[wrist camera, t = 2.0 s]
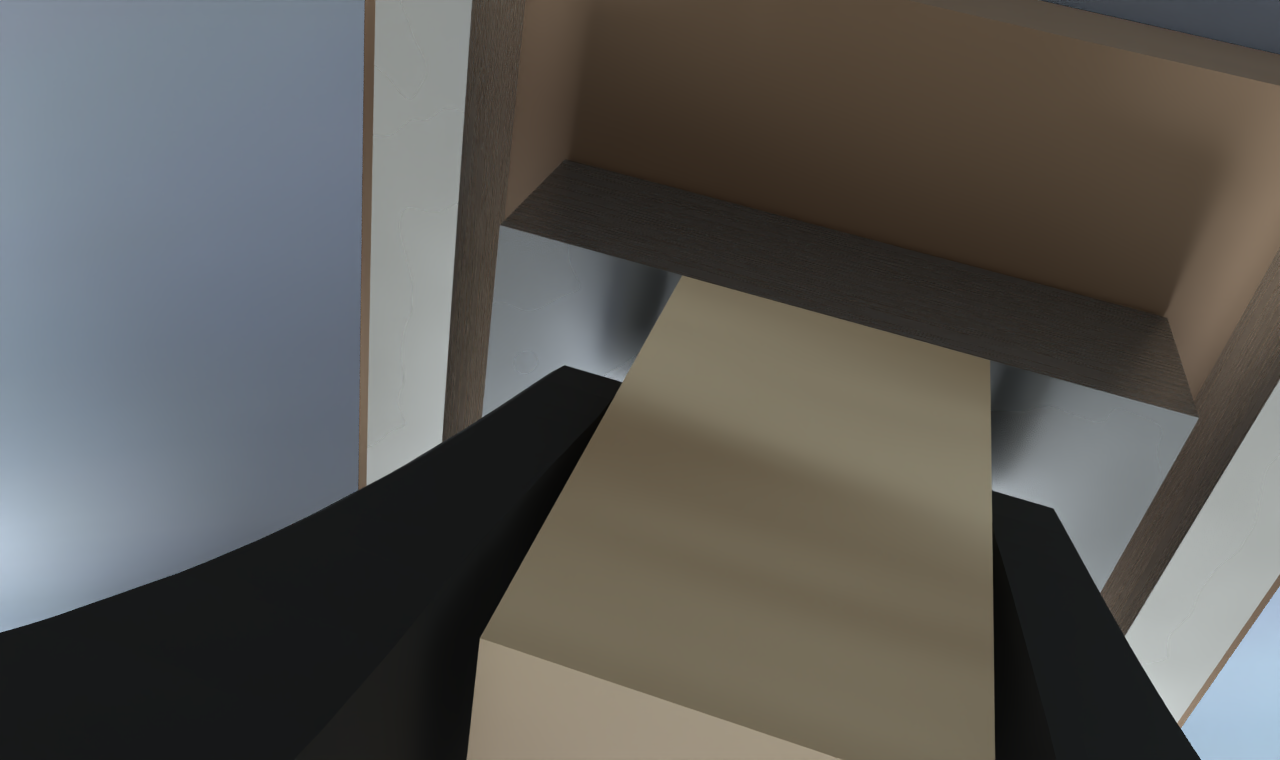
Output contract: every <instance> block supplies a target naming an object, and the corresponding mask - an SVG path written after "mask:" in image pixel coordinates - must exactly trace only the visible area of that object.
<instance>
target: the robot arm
mask: <svg viewBox="0 0 1280 760" xmlns="http://www.w3.org/2000/svg"><path fill="white" fill-rule="evenodd" d="M621 384H622V382H620V381H617V380H614V379H610V378H607V377H603V376H600V375H597V374H593V373H590V372H586V371H583V370H579V369H576V368H573V367H569V366H566V365H564V366H562V367H560V368H558V369H556V370H554V371H552V372H551V373H549V374H548V375H546V376H545V377H543V378H542V379H540V380H538V381H537V382H535V383H534V384H532V385H531V386H529V387H528V388H526V389H525V390H523V391H522V392H520V393H519V394H517V395H516V396H514V397H513V398H511V399H510V400H508V401H507V402H505V403H504V404H502V405H501V406H499V407H498V408H496V409H495V410H493V411H491V412H490V413H488V414H487V415H485V416H484V417H482V418H481V419H479V420H477V421H476V422H474V423H473V424H471V425H470V426H468V427H467V428H465V429H463V430H462V431H460V432H458V433H457V434H455V435H453V436H452V437H450V438H448V439H447V440H445V441H443V442H442V443H440V444H439V445H437V446H435V447H434V448H432V449H430V450H429V451H427V452H425V453H424V454H422V455H420V456H419V457H417V458H415V459H414V460H412V461H410V462H409V463H407V464H405V465H404V466H402V467H400V468H398V469H397V470H395V471H393V472H391V473H390V474H388V475H386V476H384V477H382V478H380V479H378V480H376V481H375V482H373V483H371V484H369V485H367V486H365V487H363V488H361V489H360V490H358V491H356V492H354V493H352V494H350V495H348V496H346V497H345V498H343V499H341V500H339V501H337V502H335V503H333V504H331V505H330V506H328V507H326V508H324V509H322V510H320V511H318V512H316V513H314V514H312V515H310V516H308V517H306V518H304V519H302V520H300V521H298V522H296V523H294V524H292V525H290V526H288V527H285V528H283V529H281V530H279V531H277V532H275V533H273V534H271V535H268V536H266V537H264V538H262V539H260V540H257V541H255V542H253V543H251V544H248V545H246V546H243V547H241V548H239V549H236V550H234V551H232V552H229V553H227V554H225V555H222V556H220V557H217V558H215V559H213V560H210V561H208V562H206V563H203V564H201V565H198V566H195V567H193V568H190V569H188V570H185V571H183V572H180V573H178V574H175V575H172V576H169V577H166V578H163V579H160V580H158V581H155V582H152V583H149V584H146V585H143V586H140V587H137V588H135V589H132V590H129V591H126V592H123V593H120V594H117V595H115V596H112V597H109V598H106V599H103V600H100V601H97V602H95V603H92V604H89V605H86V606H83V607H80V608H77V609H75V610H72V611H69V612H66V613H63V614H60V615H57V616H55V617H51V618H48V619H45V620H42V621H39V622H35V623H32V624H29V625H25V626H22V627H19V628H15V629H12V630H8V631H5V632H2V633H0V760H467V753H468V744H469V735H470V725H471V716H472V707H473V698H474V688H475V679H476V670H477V660H478V651H479V642H480V637H481V635H482V633H483V632H484V630H485V628H486V626H487V624H488V623H489V621H490V619H491V617H492V615H493V614H494V612H495V610H496V608H497V607H498V605H499V603H500V601H501V599H502V598H503V596H504V594H505V592H506V590H507V589H508V587H509V585H510V583H511V581H512V580H513V578H514V576H515V574H516V572H517V571H518V569H519V567H520V565H521V563H522V562H523V560H524V558H525V556H526V555H527V553H528V551H529V549H530V547H531V546H532V544H533V542H534V540H535V538H536V537H537V535H538V533H539V531H540V529H541V528H542V526H543V524H544V522H545V520H546V519H547V517H548V515H549V513H550V511H551V510H552V508H553V506H554V504H555V503H556V501H557V499H558V497H559V495H560V494H561V492H562V490H563V488H564V486H565V485H566V483H567V481H568V479H569V477H570V476H571V474H572V472H573V470H574V468H575V467H576V465H577V463H578V461H579V459H580V458H581V456H582V454H583V452H584V451H585V449H586V447H587V445H588V443H589V442H590V440H591V438H592V436H593V434H594V433H595V431H596V429H597V427H598V425H599V424H600V422H601V420H602V418H603V416H604V415H605V413H606V411H607V409H608V407H609V406H610V404H611V402H612V400H613V398H614V397H615V395H616V393H617V391H618V390H619V388H620V386H621ZM992 550H993V629H994V709H995V760H1201V759H1200V758H1199V756H1198V755H1197V753H1196V752H1195V750H1194V749H1193V747H1192V746H1191V744H1190V742H1189V741H1188V739H1187V738H1186V736H1185V735H1184V733H1183V731H1182V730H1181V728H1180V727H1179V725H1178V724H1177V722H1176V721H1175V719H1174V717H1173V716H1172V714H1171V713H1170V711H1169V710H1168V708H1167V706H1166V705H1165V703H1164V701H1163V700H1162V698H1161V697H1160V695H1159V693H1158V692H1157V690H1156V688H1155V687H1154V685H1153V684H1152V682H1151V680H1150V678H1149V677H1148V675H1147V673H1146V672H1145V670H1144V668H1143V667H1142V665H1141V663H1140V662H1139V660H1138V658H1137V657H1136V655H1135V653H1134V652H1133V650H1132V648H1131V647H1130V645H1129V643H1128V641H1127V640H1126V638H1125V636H1124V634H1123V633H1122V631H1121V629H1120V628H1119V626H1118V624H1117V622H1116V620H1115V619H1114V617H1113V615H1112V613H1111V612H1110V610H1109V608H1108V606H1107V604H1106V603H1105V601H1104V599H1103V597H1102V595H1101V594H1100V592H1099V590H1098V588H1097V586H1096V585H1095V583H1094V581H1093V579H1092V577H1091V575H1090V574H1089V572H1088V570H1087V568H1086V566H1085V564H1084V563H1083V561H1082V559H1081V557H1080V555H1079V553H1078V552H1077V550H1076V548H1075V546H1074V544H1073V543H1072V541H1071V539H1070V537H1069V535H1068V533H1067V532H1066V530H1065V528H1064V526H1063V524H1062V522H1061V521H1060V519H1059V517H1058V515H1057V514H1056V512H1055V510H1054V509H1053V508H1051V507H1047V506H1044V505H1040V504H1037V503H1033V502H1030V501H1027V500H1023V499H1020V498H1016V497H1013V496H1010V495H1006V494H1003V493H999V492H996V491H993V490H992Z"/></svg>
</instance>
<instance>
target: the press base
mask: <svg viewBox="0 0 1280 760" xmlns="http://www.w3.org/2000/svg"><path fill="white" fill-rule="evenodd" d="M565 159H567V160H571V161H575V162H579V163H583V164H586V165H590V166H594V167H598V168H602V169H605V170H609V171H613V172H617V173H621V174H624V175H628V176H632V177H636V178H639V179H643V180H647V181H651V182H655V183H658V184H662V185H666V186H670V187H674V188H677V189H681V190H685V191H689V192H693V193H696V194H700V195H704V196H708V197H712V198H715V199H719V200H723V201H727V202H730V203H734V204H738V205H742V206H746V207H749V208H753V209H757V210H761V211H765V212H768V213H772V214H776V215H780V216H784V217H787V218H791V219H795V220H799V221H803V222H806V223H810V224H814V225H818V226H821V227H825V228H829V229H833V230H837V231H840V232H844V233H848V234H852V235H856V236H859V237H863V238H867V239H871V240H875V241H878V242H882V243H886V244H890V245H894V246H897V247H901V248H905V249H909V250H912V251H916V252H920V253H924V254H928V255H931V256H935V257H939V258H943V259H947V260H950V261H954V262H958V263H962V264H966V265H969V266H973V267H977V268H981V269H985V270H988V271H992V272H996V273H1000V274H1003V275H1007V276H1011V277H1015V278H1019V279H1022V280H1026V281H1030V282H1034V283H1038V284H1041V285H1045V286H1049V287H1053V288H1057V289H1060V290H1064V291H1068V292H1072V293H1075V294H1079V295H1083V296H1087V297H1091V298H1094V299H1098V300H1102V301H1106V302H1110V303H1113V304H1117V305H1121V306H1125V307H1129V308H1132V309H1136V310H1140V311H1144V312H1148V313H1151V314H1155V315H1159V316H1163V317H1166V318H1168V322H1169V325H1170V328H1171V331H1172V334H1173V337H1174V340H1175V344H1176V347H1177V350H1178V353H1179V356H1180V359H1181V362H1182V365H1183V369H1184V372H1185V375H1186V378H1187V381H1188V384H1189V387H1190V391H1191V394H1192V397H1193V400H1194V403H1195V406H1196V409H1197V413H1198V416H1199V419H1198V421H1197V423H1196V424H1195V426H1194V428H1193V430H1192V432H1191V433H1190V435H1189V437H1188V439H1187V440H1186V442H1185V444H1184V446H1183V447H1182V449H1181V451H1180V453H1179V455H1178V456H1177V458H1176V460H1175V462H1174V463H1173V465H1172V467H1171V469H1170V470H1169V472H1168V474H1167V476H1166V478H1165V479H1164V481H1163V483H1162V485H1161V486H1160V488H1159V490H1158V492H1157V493H1156V495H1155V497H1154V499H1153V501H1152V502H1151V504H1150V506H1149V508H1148V509H1147V511H1146V513H1145V515H1144V516H1143V518H1142V520H1141V522H1140V524H1139V525H1138V527H1137V529H1136V531H1135V532H1134V534H1133V536H1132V538H1131V539H1130V541H1129V543H1128V545H1127V547H1126V548H1125V550H1124V552H1123V554H1122V555H1121V557H1120V559H1119V561H1118V562H1117V564H1116V566H1115V568H1114V570H1113V571H1112V573H1111V575H1110V577H1109V578H1108V580H1107V582H1106V584H1105V585H1104V587H1103V589H1102V591H1101V593H1100V594H1101V595H1102V597H1103V599H1104V601H1105V603H1106V604H1107V606H1108V608H1109V610H1110V612H1111V613H1112V615H1113V617H1114V619H1115V620H1116V622H1117V624H1118V626H1119V628H1120V629H1121V631H1122V633H1123V634H1124V636H1125V638H1126V640H1127V641H1128V643H1129V645H1130V647H1131V648H1132V650H1133V652H1134V653H1135V655H1136V657H1137V658H1138V660H1139V662H1140V663H1141V665H1142V667H1143V668H1144V670H1145V672H1146V673H1147V675H1148V677H1149V678H1150V680H1151V682H1152V684H1153V685H1154V687H1155V688H1156V690H1157V692H1158V693H1159V695H1160V697H1161V698H1162V700H1163V701H1164V703H1165V705H1166V706H1167V708H1168V710H1169V711H1170V713H1171V714H1172V716H1173V717H1174V719H1175V721H1176V722H1177V724H1178V725H1179V727H1180V728H1181V727H1182V726H1183V724H1184V723H1185V721H1186V720H1187V718H1188V717H1189V716H1190V714H1191V713H1192V711H1193V710H1194V708H1195V707H1196V706H1197V704H1198V703H1199V701H1200V700H1201V698H1202V697H1203V695H1204V694H1205V693H1206V691H1207V690H1208V688H1209V687H1210V685H1211V684H1212V683H1213V681H1214V680H1215V678H1216V677H1217V675H1218V674H1219V672H1220V671H1221V670H1222V668H1223V667H1224V665H1225V664H1226V662H1227V661H1228V659H1229V658H1230V657H1231V655H1232V654H1233V652H1234V651H1235V649H1236V648H1237V647H1238V645H1239V644H1240V642H1241V641H1242V639H1243V638H1244V636H1245V635H1246V634H1247V632H1248V631H1249V629H1250V628H1251V626H1252V625H1253V624H1254V622H1255V621H1256V619H1257V618H1258V616H1259V615H1260V613H1261V612H1262V611H1263V609H1264V608H1265V606H1266V605H1267V603H1268V602H1269V600H1270V599H1271V598H1272V596H1273V595H1274V593H1275V592H1276V590H1277V589H1278V588H1279V586H1280V54H1275V53H1271V52H1266V51H1262V50H1257V49H1253V48H1249V47H1244V46H1240V45H1235V44H1231V43H1227V42H1222V41H1218V40H1213V39H1209V38H1204V37H1200V36H1196V35H1191V34H1187V33H1182V32H1178V31H1173V30H1169V29H1165V28H1160V27H1156V26H1151V25H1147V24H1142V23H1138V22H1134V21H1129V20H1125V19H1120V18H1116V17H1112V16H1107V15H1103V14H1098V13H1094V12H1089V11H1085V10H1081V9H1076V8H1072V7H1067V6H1063V5H1058V4H1054V3H1050V2H1045V1H1041V0H365V20H364V97H363V174H362V251H361V328H360V405H359V482H358V490H360V489H361V488H363V487H365V486H367V485H369V484H371V483H373V482H375V481H376V480H378V479H380V478H382V477H384V476H386V475H388V474H390V473H391V472H393V471H395V470H397V469H398V468H400V467H402V466H404V465H405V464H407V463H409V462H410V461H412V460H414V459H415V458H417V457H419V456H420V455H422V454H424V453H425V452H427V451H429V450H430V449H432V448H434V447H435V446H437V445H439V444H440V443H442V442H443V441H445V440H447V439H448V438H450V437H452V436H453V435H455V434H457V433H458V432H460V431H462V430H463V429H465V428H467V427H468V426H470V425H471V424H473V423H474V422H476V421H477V420H479V419H481V418H482V411H483V400H484V389H485V379H486V368H487V357H488V347H489V336H490V325H491V314H492V304H493V293H494V282H495V272H496V261H497V250H498V240H499V229H500V224H501V223H502V222H503V221H504V220H505V219H506V218H507V217H508V216H509V215H510V214H511V213H512V212H513V211H514V210H515V209H516V208H517V207H518V206H519V205H520V204H521V203H522V202H523V201H524V200H525V199H526V198H527V197H528V196H529V195H530V194H531V193H532V192H533V191H534V190H535V189H536V188H537V187H538V186H539V185H540V184H541V183H542V182H543V181H544V180H545V179H546V178H547V177H548V176H549V175H550V174H551V173H552V172H553V171H554V170H555V169H556V168H557V167H558V166H559V165H560V164H561V163H562V162H563V161H564V160H565Z"/></svg>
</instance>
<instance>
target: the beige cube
mask: <svg viewBox="0 0 1280 760" xmlns="http://www.w3.org/2000/svg"><path fill="white" fill-rule="evenodd" d="M564 365H566V366H569V367H573V368H576V369H579V370H583V371H586V372H590V373H593V374H597V375H600V376H603V377H607V378H610V379H614V380H617V381H620V382H622V384H621V386H620V388H619V390H618V391H617V393H616V395H615V397H614V398H613V400H612V402H611V404H610V406H609V407H608V409H607V411H606V413H605V415H604V416H603V418H602V420H601V422H600V424H599V425H598V427H597V429H596V431H595V433H594V434H593V436H592V438H591V440H590V442H589V443H588V445H587V447H586V449H585V451H584V452H583V454H582V456H581V458H580V459H579V461H578V463H577V465H576V467H575V468H574V470H573V472H572V474H571V476H570V477H569V479H568V481H567V483H566V485H565V486H564V488H563V490H562V492H561V494H560V495H559V497H558V499H557V501H556V503H555V504H554V506H553V508H552V510H551V511H550V513H549V515H548V517H547V519H546V520H545V522H544V524H543V526H542V528H541V529H540V531H539V533H538V535H537V537H536V538H535V540H534V542H533V544H532V546H531V547H530V549H529V551H528V553H527V555H526V556H525V558H524V560H523V562H522V563H521V565H520V567H519V569H518V571H517V572H516V574H515V576H514V578H513V580H512V581H511V583H510V585H509V587H508V589H507V590H506V592H505V594H504V596H503V598H502V599H501V601H500V603H499V605H498V607H497V608H496V610H495V612H494V614H493V615H492V617H491V619H490V621H489V623H488V624H487V626H486V628H485V630H484V632H483V633H482V635H481V637H480V642H479V651H478V660H477V670H476V679H475V688H474V698H473V707H472V716H471V725H470V735H469V744H468V753H467V760H995V709H994V629H993V550H992V490H993V491H996V492H999V493H1003V494H1006V495H1010V496H1013V497H1016V498H1020V499H1023V500H1027V501H1030V502H1033V503H1037V504H1040V505H1044V506H1047V507H1051V508H1053V509H1054V510H1055V512H1056V514H1057V515H1058V517H1059V519H1060V521H1061V522H1062V524H1063V526H1064V528H1065V530H1066V532H1067V533H1068V535H1069V537H1070V539H1071V541H1072V543H1073V544H1074V546H1075V548H1076V550H1077V552H1078V553H1079V555H1080V557H1081V559H1082V561H1083V563H1084V564H1085V566H1086V568H1087V570H1088V572H1089V574H1090V575H1091V577H1092V579H1093V581H1094V583H1095V585H1096V586H1097V588H1098V590H1099V592H1100V593H1101V591H1102V589H1103V587H1104V585H1105V584H1106V582H1107V580H1108V578H1109V577H1110V575H1111V573H1112V571H1113V570H1114V568H1115V566H1116V564H1117V562H1118V561H1119V559H1120V557H1121V555H1122V554H1123V552H1124V550H1125V548H1126V547H1127V545H1128V543H1129V541H1130V539H1131V538H1132V536H1133V534H1134V532H1135V531H1136V529H1137V527H1138V525H1139V524H1140V522H1141V520H1142V518H1143V516H1144V515H1145V513H1146V511H1147V509H1148V508H1149V506H1150V504H1151V502H1152V501H1153V499H1154V497H1155V495H1156V493H1157V492H1158V490H1159V488H1160V486H1161V485H1162V483H1163V481H1164V479H1165V478H1166V476H1167V474H1168V472H1169V470H1170V469H1171V467H1172V465H1173V463H1174V462H1175V460H1176V458H1177V456H1178V455H1179V453H1180V451H1181V449H1182V447H1183V446H1184V444H1185V442H1186V440H1187V439H1188V437H1189V435H1190V433H1191V432H1192V430H1193V428H1194V426H1195V424H1196V423H1197V421H1198V419H1199V416H1198V413H1197V409H1196V406H1195V403H1194V400H1193V397H1192V394H1191V391H1190V387H1189V384H1188V381H1187V378H1186V375H1185V372H1184V369H1183V365H1182V362H1181V359H1180V356H1179V353H1178V350H1177V347H1176V344H1175V340H1174V337H1173V334H1172V331H1171V328H1170V325H1169V322H1168V318H1166V317H1163V316H1159V315H1155V314H1151V313H1148V312H1144V311H1140V310H1136V309H1132V308H1129V307H1125V306H1121V305H1117V304H1113V303H1110V302H1106V301H1102V300H1098V299H1094V298H1091V297H1087V296H1083V295H1079V294H1075V293H1072V292H1068V291H1064V290H1060V289H1057V288H1053V287H1049V286H1045V285H1041V284H1038V283H1034V282H1030V281H1026V280H1022V279H1019V278H1015V277H1011V276H1007V275H1003V274H1000V273H996V272H992V271H988V270H985V269H981V268H977V267H973V266H969V265H966V264H962V263H958V262H954V261H950V260H947V259H943V258H939V257H935V256H931V255H928V254H924V253H920V252H916V251H912V250H909V249H905V248H901V247H897V246H894V245H890V244H886V243H882V242H878V241H875V240H871V239H867V238H863V237H859V236H856V235H852V234H848V233H844V232H840V231H837V230H833V229H829V228H825V227H821V226H818V225H814V224H810V223H806V222H803V221H799V220H795V219H791V218H787V217H784V216H780V215H776V214H772V213H768V212H765V211H761V210H757V209H753V208H749V207H746V206H742V205H738V204H734V203H730V202H727V201H723V200H719V199H715V198H712V197H708V196H704V195H700V194H696V193H693V192H689V191H685V190H681V189H677V188H674V187H670V186H666V185H662V184H658V183H655V182H651V181H647V180H643V179H639V178H636V177H632V176H628V175H624V174H621V173H617V172H613V171H609V170H605V169H602V168H598V167H594V166H590V165H586V164H583V163H579V162H575V161H571V160H567V159H565V160H564V161H563V162H562V163H561V164H560V165H559V166H558V167H557V168H556V169H555V170H554V171H553V172H552V173H551V174H550V175H549V176H548V177H547V178H546V179H545V180H544V181H543V182H542V183H541V184H540V185H539V186H538V187H537V188H536V189H535V190H534V191H533V192H532V193H531V194H530V195H529V196H528V197H527V198H526V199H525V200H524V201H523V202H522V203H521V204H520V205H519V206H518V207H517V208H516V209H515V210H514V211H513V212H512V213H511V214H510V215H509V216H508V217H507V218H506V219H505V220H504V221H503V222H502V223H501V224H500V229H499V240H498V250H497V261H496V272H495V282H494V293H493V304H492V314H491V325H490V336H489V347H488V357H487V368H486V379H485V389H484V400H483V411H482V417H484V416H485V415H487V414H488V413H490V412H491V411H493V410H495V409H496V408H498V407H499V406H501V405H502V404H504V403H505V402H507V401H508V400H510V399H511V398H513V397H514V396H516V395H517V394H519V393H520V392H522V391H523V390H525V389H526V388H528V387H529V386H531V385H532V384H534V383H535V382H537V381H538V380H540V379H542V378H543V377H545V376H546V375H548V374H549V373H551V372H552V371H554V370H556V369H558V368H560V367H562V366H564Z"/></svg>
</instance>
